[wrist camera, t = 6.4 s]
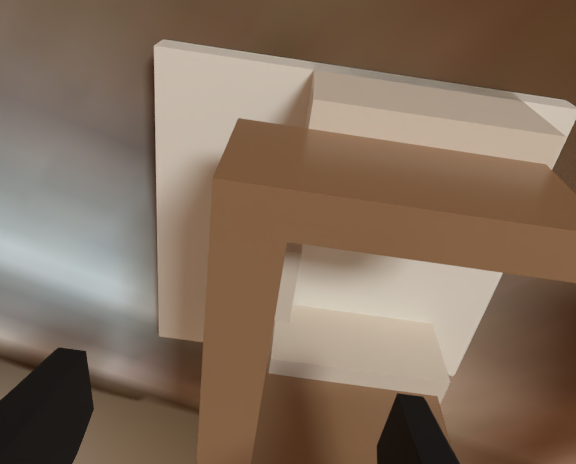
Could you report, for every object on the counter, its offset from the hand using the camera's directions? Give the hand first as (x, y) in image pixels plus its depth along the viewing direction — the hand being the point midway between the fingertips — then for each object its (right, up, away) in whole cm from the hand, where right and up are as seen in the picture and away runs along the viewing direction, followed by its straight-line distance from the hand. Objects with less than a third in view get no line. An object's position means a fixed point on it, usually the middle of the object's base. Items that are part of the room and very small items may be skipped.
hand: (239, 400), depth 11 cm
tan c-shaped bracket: (+3, +2, +4) cm, 5 cm away
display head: (+3, +4, +7) cm, 9 cm away
